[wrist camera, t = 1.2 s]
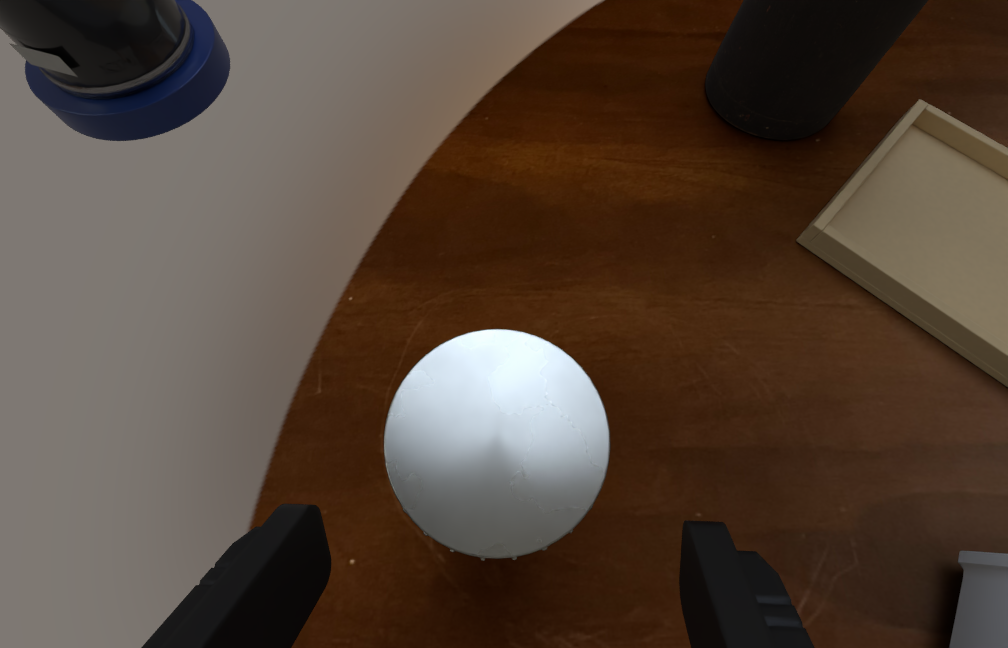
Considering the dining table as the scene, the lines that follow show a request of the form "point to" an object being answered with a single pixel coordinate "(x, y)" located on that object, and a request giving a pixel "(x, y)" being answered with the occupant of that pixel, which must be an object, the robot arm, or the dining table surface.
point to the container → (800, 61)
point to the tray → (929, 232)
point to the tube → (982, 602)
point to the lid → (497, 443)
